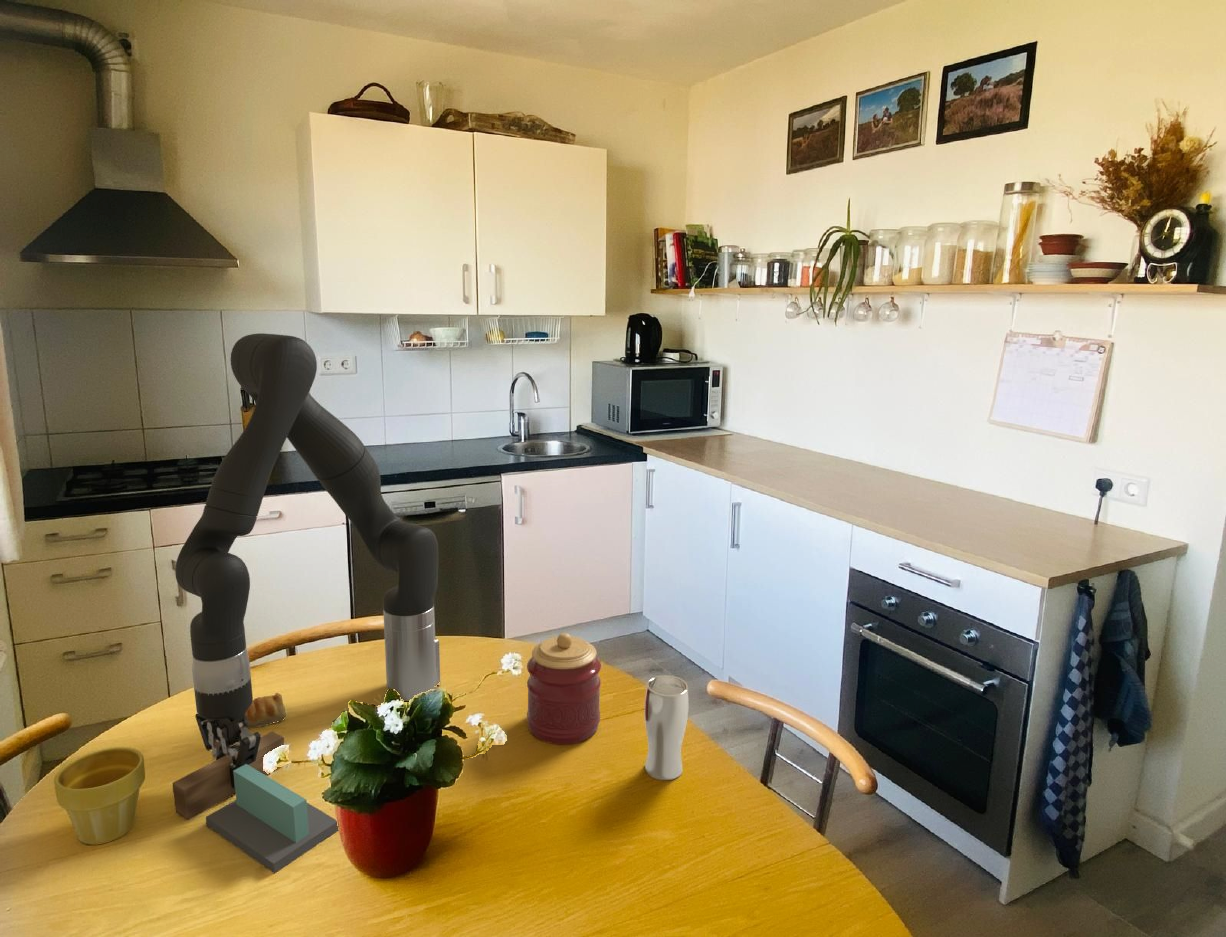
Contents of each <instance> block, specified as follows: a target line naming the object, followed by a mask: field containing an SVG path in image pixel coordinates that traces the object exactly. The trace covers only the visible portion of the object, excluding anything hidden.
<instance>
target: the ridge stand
mask: <svg viewBox="0 0 1226 937" xmlns="http://www.w3.org/2000/svg"><path fill="white" fill-rule="evenodd" d="M233 774H234V784H235V794H234V795H235V799H234V800H233V801H231V802H230V803H228V804H226V805H224V806H223V807H221V808H219V809H217V810H215V811H213V812H211V813H210V814H208V815H206V816H205V825H206V827H208V828H209V829H210V830H211V831H213V832H215V833H216V834H217V835H219V836H220V837H221V838H223V839H225V840H226V841H227V842H228V843H230V844H231V845H233V846H235V847H236V848H237V849H239V850H240V851H241V852H243V853H245V854H246V855H247V856H249V857H250V858H252V859H253V860H255V861H256V862H257V863H259V864H260V865H262V866H263V867H264V868H266V869H268V870H269V871H270V872H271V873H273V874H276V873H278V872H279V871H280V870H282V869H283V868H285V867H287V866H288V865H290V864H291V863H293V861H295V860H297V859H298V858H300V857H301V856H302V855H305V854H306V853H308V852H309V851H310V850H312V849H314V848H315V847H316V846H317V845H319V844H321V843H323V841H325V840H327V839H328V838H329V837H332V836H333V835H334V834H336V833H337V832H338V831H339V830H338V827H339V825H338V826H337V821H338V820H337V819H335V818H334V817H332V816H330V815H329V814H327V813H325V812H323V811H322V810H320V809H319V808H317V807H315V806H314V805H312V804H310V803H308V802H307V798H305V797H303V796H302V795H300V794H298V793H296V792H295V791H293V790H291V789H290V788H288V787H286V786H284V785H283V784H281V783H279V782H278V781H276V780H274V779H273V778H271V777H269V775H267V776H266V775H264V774H262V773H261V772H259V771H257V770H256V769H254V768H252V767H251V766H249V765H247V764H245V765H243V766H241V767H239V768H238V769H236V770H234V771H233ZM336 820H337V821H336Z"/></svg>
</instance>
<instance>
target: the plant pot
mask: <svg viewBox="0 0 1226 937" xmlns="http://www.w3.org/2000/svg"><path fill="white" fill-rule="evenodd" d="M145 780H146V767H145V759H144V755H143V753H142V752H141V751H140V750H138V749H136V748H133V747H131V746H130V747H129V746H112V747H105V748H101V749H96V750H94V751H90V752H87V753H84V754H82V755H79V756H78V757H76V758H73V759H72V760H70V761H68V762H67V763H66V764H64V765H63V766H62V767H61V768H60V769H59V770H58V771H57V773H56V774H55V776H54V780H53V784H54V785H53V786H54V792H55V797H56V802H57V805H58V806H59V807H61V809H64V810H65V811H66V813H67V816H68V818H69V819H70V822H71V824H72V826H73V828H74V831H75V833H76V836H77V837H78V838H77V839H79V841H80V842H81V843H83V844H85V845H91V846H92V845H101V844H106V843H109V842H113V841H115V840H118V839H119V838H121V837H122V836H124V835H126V834H127V833H128V832H129V831H130V830H131V829H132V828H134V827H133V826H134V825H135V823H136V822H135V821H136V815H137V808H138V801H139V795H140V794H139V793H140V788H141V787H142V786H143V784H144V782H145Z"/></svg>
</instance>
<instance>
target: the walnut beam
mask: <svg viewBox="0 0 1226 937" xmlns="http://www.w3.org/2000/svg"><path fill="white" fill-rule="evenodd" d="M281 745H285V737H284V736H283V735H280V734H279V733H276V732H275V731H270V732H268V733H267V734H264V735H261V739H260V743H259V748H258V752H257V756H256V760H255V761H254V762H253V763H251V764H249V766H251V767H252V768H254V769H256V770H257V771H259V772H261V773H262V774H264V775H266V776H269V775H270V774H267V773H266V772H265V771H263V757H264V755H265V754H267V753H268V752H269V751H272V750H273V749H275V748H277V747H279V746H281ZM237 755H238V752H236V753H235V759H236V758H237ZM282 768H283V767H277V769H276V771H278V770H280V769H282ZM171 784H172V785H171V786H172V793H173V801H174V809H175V814H176V815H178V816H179V817H181V818H182V819H184V820H185V821H190V820H193V818H195V817H197V816H199V815H200V814H203V813H204V812H206V811H207V810H210V809H211V808H213V807H214V806H216V805H218V804H220V803H222V802H223V801H225V800H227V799H229V798H231V797H232V796H234V795H236V794H235V789H234V788H232V786H231V776H230V765H229V761H228V756H227V755H225V756H223V757H221V758H219V759H217V760H216V759H215V760H213V761H212V762H210V763H208V764H206V765H204V766H202V767H200V768H198V769H195V771H192V772H191V773H188V774H187V775H184V776H182V777H181V778H179V779H177V780H175V781H173V782H171Z"/></svg>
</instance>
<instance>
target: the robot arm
mask: <svg viewBox="0 0 1226 937" xmlns="http://www.w3.org/2000/svg"><path fill="white" fill-rule="evenodd" d="M317 364H318V362H317V357H316V354H315V352H314V350H313V349H312V347H311V345H309V343H307V342H306V340H304V339H302V338H300V337H297V336H293V335H286V334H276V333H261V332H260V333H251V334H247V335H244V336H242V337H241V338H239V339H238V340H237V341H236V342H235V343H234V345H233V346H232V348H231V351H230V365H231V366H230V368H231V371H232V374H233V376H234V377H235V380H236V381H237V383H238V384H239V385H240V387H241V388H242V389H243V390H244V391H245V392H246V393H247V394H248V395H249V396H250V398H252V399H253V401H255V402H256V403H255V406H254V409H253V412H252V415H251V416H250V419H249V421H248V423H247V424H246V425H245V428H244V430H243V431H242V433H241V434H240V435H239V437H238V438H237V440H236V441H235V442H234V443H233V445H232V447H231V448H230V449H229V450H228V452H227V453H226V454H225V456H224V457H223V459H222V461H221V462H220V464H219V465H218V466H217V467H218V468H217V469H216V471H215V474H214V476H213V479H212V481H211V485H210V487H209V491H208V495H207V497H206V501H205V505H204V508H203V511H202V514H201V517H199V520H198V521H197V523H195V525H194V527H193V528H192V530H191V532H190V534H189V535H188V537H187V539H186V540H185V542H184V544H183V545H182V548H181V549H180V551H179V553H178V555H177V559H176V564H175V568H174V569H175V572H174V575H175V580H176V582H177V584H178V585H179V587H180V588H181V589H182V590H183V591H185V592H188V593H190V594H192V595H195V596H196V597H199V598H200V599H201V606H202V607H201V611H200V612H199V613H197V614H195V616H193V618H192V620H191V622H190V625H189V626H190V627H189V632H190V643H191V644H190V645H191V653H192V654H191V655H192V667H191V668H192V669H191V670H192V680H193V681H192V682H193V691H194V698H195V699H194V700H195V709H196V713H195V715H194V716H195V720H196V723H197V727H198V729H199V732H200V735H201V738H202V742H203V744H204V747H205V750H206V751H207V752H210V751H211V755H212V758H213V759H215V760H217V759H219V758H221V757H223V756H225V755H227V756H228V761H229V765H230V776H231V786H232V788H234V789H235V784H234V774H233V771H234V770H236V769H238V768H239V767H241V766H243V765H245V764H247V765H249V764H251V763H253V762H254V761H255V760H256V756H257V752H258V748H259V743H260V739H261V737H262V735H261V734H260V732H259V731H256V732H254V733H252V731H251V730H250V729H249V727H248V721H247V718H246V715H245V713H246V711H247V709H248V708H249V707H250V706H251V704H252V701H253V700H254V698H253V695H254V694H253V686H252V673H251V666H250V664H251V663H250V657H249V653H248V650H247V649H248V648H247V641H246V640H247V639H246V631H245V623H244V621H245V617H246V612H247V607H248V601H249V595H250V591H251V590H250V589H251V578H250V573H249V570H248V567H247V565H246V563H245V562H244V560H242V558H240V557H239V556H237V555H236V554H234V553H231V552H230V550H231V548H232V546H233V544H234V543H235V541H236V539H237V538H238V537H243V536H248V535H249V534H250V533H251V532H252V531H253V530H254V528H255V524H256V522H257V519H258V516H259V513H260V508H261V506H262V502H263V498H264V496H265V493H266V490H267V486H268V483H269V480H270V477H271V474H272V472H273V469H274V466H275V464H276V463H277V462H276V461H277V459H278V457H279V455H280V453H281V450H282V448H283V446H284V444H285V442H286V439H287V440H288V441H289V442H290V444H291V445H292V447H293V448H294V450H295V451H296V452H297V453H298V454H299V457H301V459H302V460H303V461H304V463H305V464H306V465H307V467H308V468H309V469H310V471H311V473H312V474H313V476H314V477H315V478H316V479H317V481H319V483H320V485H322V487H323V488H324V489H325V491H326V492H327V494H328V495H329V496H330V497H331V498H332V499H333V500H334V502H335V503H336V505H337V506H338V507H339V508H340V510H341V511H342V512H343V513H344V515H345V516H346V517H347V518H348V519H349V521H350V523H351V524H352V525H353V526H354V528H355V529H356V531H357V533H358V535H359V537H360V538H361V541H362V542H363V544H364V545H365V547H366V548H367V550H368V553H370V555H371V557H372V558H373V560H374V561H375V562H376V563H377V564H378V565H379V566H381V567H382V568H383V569H386V570H387V571H388V570H389V571H391V572H395V573H398V580H397V581H398V583H397V584H398V585H396V586H394V587H391V588H389V589H388V590H386V591H385V593H384V594H383V597H382V609H383V610H382V612H383V627H384V628H383V631H384V635H383V636H384V651H385V653H384V654H385V655H384V656H385V672H386V673H385V675H386V690H387V689H395V690H396V691H397V692H398V693H399V694H400V697H401V699H403V700H404V701H409V700H410V699H412V698H413V697H414V695H417V694H419V693H421V692H426V691H428V690H430V689H436V690H437V688H436V687H434V686H436V685H437V684H438V683H439V682H440V683H441V661H440V660H441V658H440V656H441V655H440V654H441V652H440V640H439V639H438V638H436V626H435V625H436V624H435V623H436V622H435V620H436V619H435V596H436V594H437V590H438V583H439V542H438V539H437V537H436V535H435V533H434V532H433V531H432V530H431V529H430V528H428V527H426V526H421V525H417V524H415V523H410V522H407V521H404V520H402V519H401V518H399V517H398V516H397V515H396V514H395V512H393V510H392V509H391V508H390V507H389V505H388V503H386V501H385V499H384V497H383V495H382V490H381V489H382V487H381V486H382V482H381V481H382V480H381V473H380V469H379V467H378V464H377V463H376V461H375V460H374V458H373V456H372V455H371V453H370V451H368V448H367V447H366V446H365V444H364V443H363V442H362V440H361V439H360V438H359V437H358V436H357V434H356V433H355V432H354V431H352V430H351V429H350V428H349V427H348V426H347V425H346V424H345V423H344V422H342V421H341V420H340V419H338V418H337V417H336V416H335V415H334V414H332V413H331V412H330V411H328V410H327V408H325V407H324V406H322V405H321V404H320V403H319V402H318V401H317V400H316V399H315V398H314V397H313V396H312V395H311V393H310V391H311V388H312V386H313V384H314V381H315V378H316V374H317V369H318V365H317ZM236 752H238V755H237V758H236V759H235V753H236Z"/></svg>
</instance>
